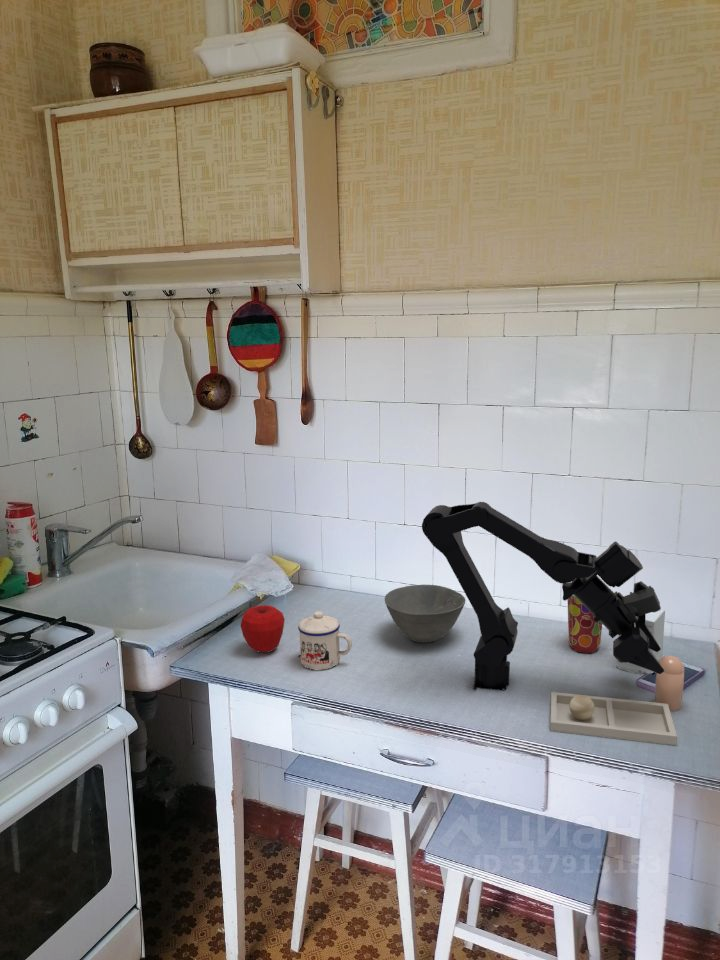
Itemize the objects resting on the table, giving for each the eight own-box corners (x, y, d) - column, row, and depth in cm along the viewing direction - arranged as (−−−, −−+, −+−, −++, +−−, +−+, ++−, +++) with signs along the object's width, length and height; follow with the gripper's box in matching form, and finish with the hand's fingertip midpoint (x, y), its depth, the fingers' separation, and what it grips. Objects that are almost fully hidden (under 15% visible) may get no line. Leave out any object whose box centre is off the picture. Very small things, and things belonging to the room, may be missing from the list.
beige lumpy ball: (569, 723, 132) (570, 701, 131) (568, 710, 136) (569, 689, 135) (594, 725, 131) (595, 703, 130) (593, 713, 135) (594, 691, 134)
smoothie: (581, 636, 168) (585, 555, 164) (611, 649, 161) (615, 564, 157) (557, 645, 164) (559, 562, 159) (586, 659, 157) (590, 572, 153)
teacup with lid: (293, 668, 157) (290, 618, 154) (309, 650, 165) (307, 602, 163) (345, 675, 153) (343, 624, 150) (359, 657, 161) (357, 608, 159)
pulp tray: (550, 733, 130) (550, 722, 129) (550, 702, 140) (551, 691, 139) (676, 748, 124) (677, 736, 124) (667, 715, 134) (667, 703, 134)
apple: (235, 656, 163) (232, 611, 161) (254, 639, 172) (251, 596, 170) (275, 662, 160) (272, 616, 158) (292, 643, 169) (290, 600, 166)
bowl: (478, 649, 163) (478, 607, 161) (398, 660, 159) (397, 618, 157) (448, 617, 181) (448, 579, 179) (376, 627, 177) (375, 588, 175)
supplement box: (627, 655, 158) (630, 601, 156) (662, 665, 154) (666, 609, 151) (615, 668, 153) (618, 612, 150) (651, 678, 148) (655, 621, 145)
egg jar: (655, 712, 136) (659, 661, 133) (652, 699, 140) (656, 650, 138) (683, 715, 134) (687, 663, 132) (679, 702, 139) (683, 652, 137)
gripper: (636, 592, 125) (701, 658, 124) (632, 559, 142) (690, 616, 141) (587, 630, 129) (650, 694, 128) (589, 593, 147) (645, 649, 146)
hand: (660, 661), depth 136 cm, fingers open, 9 cm apart
